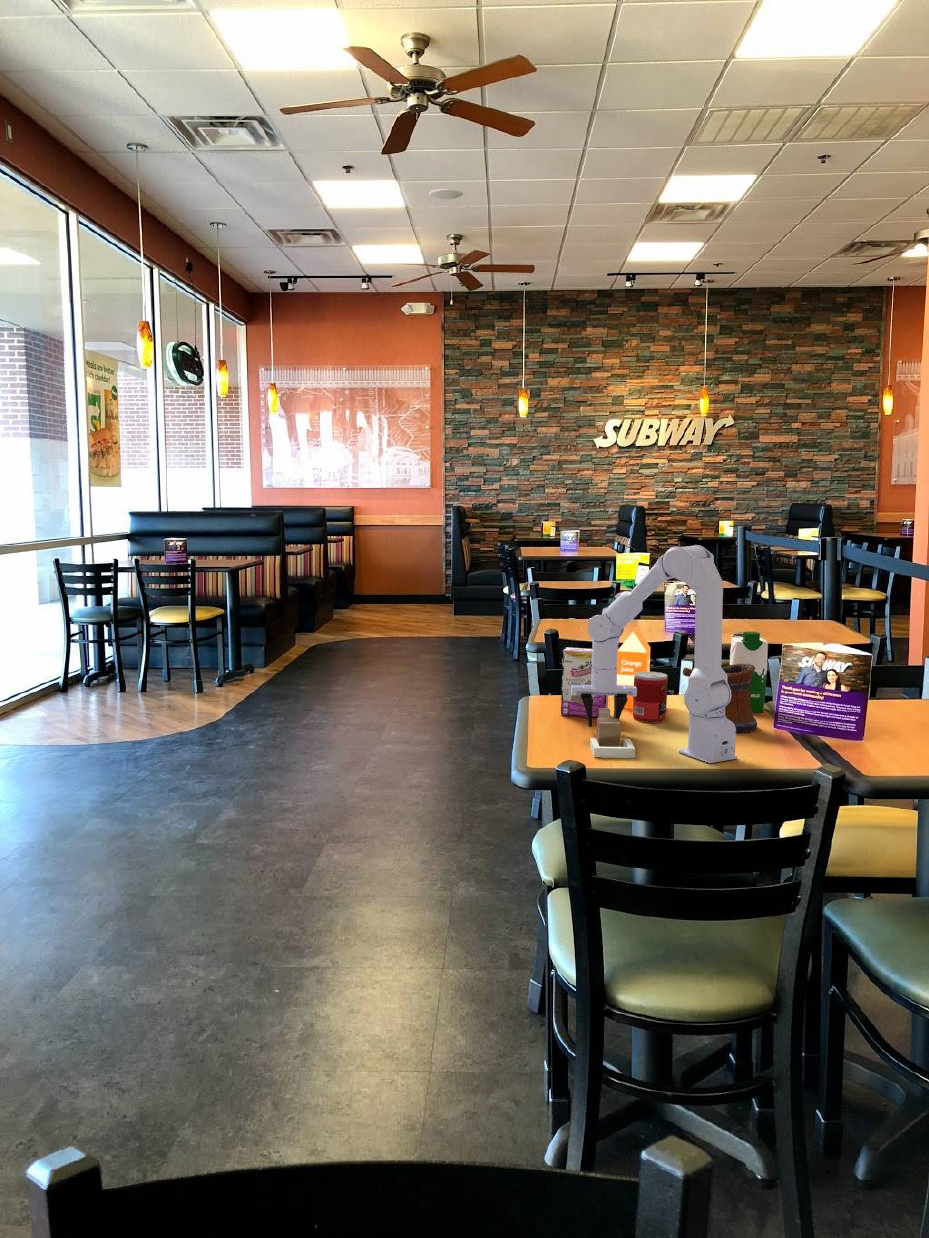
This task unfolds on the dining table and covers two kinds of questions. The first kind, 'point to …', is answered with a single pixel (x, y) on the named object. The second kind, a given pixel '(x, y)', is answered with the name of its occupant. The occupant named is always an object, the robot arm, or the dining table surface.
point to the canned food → (650, 696)
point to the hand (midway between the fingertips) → (602, 726)
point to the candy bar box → (578, 682)
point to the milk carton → (753, 653)
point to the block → (608, 729)
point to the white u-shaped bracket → (612, 750)
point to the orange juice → (632, 661)
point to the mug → (738, 696)
